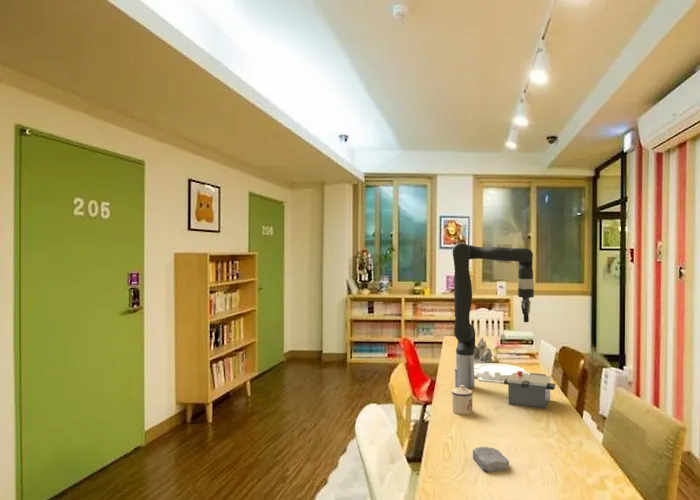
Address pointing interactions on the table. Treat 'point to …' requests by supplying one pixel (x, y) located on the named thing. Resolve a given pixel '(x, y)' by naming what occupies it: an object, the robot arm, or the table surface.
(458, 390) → the teacup with lid
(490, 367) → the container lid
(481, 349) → the stone figurine sculpture
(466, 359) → the robot arm
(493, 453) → the stone block
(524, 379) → the pot lid
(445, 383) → the table surface
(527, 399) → the charcoal pot
